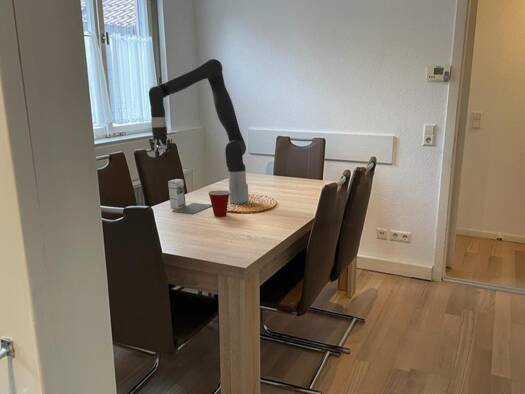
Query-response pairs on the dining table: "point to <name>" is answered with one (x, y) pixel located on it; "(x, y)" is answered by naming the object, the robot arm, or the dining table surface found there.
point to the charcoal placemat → (192, 208)
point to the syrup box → (177, 193)
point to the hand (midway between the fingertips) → (162, 158)
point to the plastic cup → (219, 202)
